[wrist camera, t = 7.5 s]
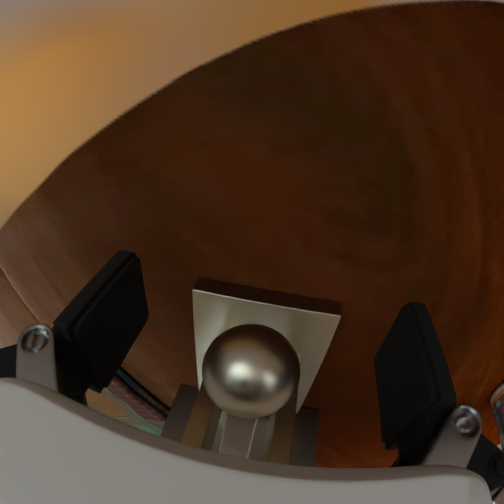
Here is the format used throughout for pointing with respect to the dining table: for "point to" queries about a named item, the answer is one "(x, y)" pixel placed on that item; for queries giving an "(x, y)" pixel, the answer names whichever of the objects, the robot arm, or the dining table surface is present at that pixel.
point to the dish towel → (129, 404)
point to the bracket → (271, 315)
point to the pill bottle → (499, 411)
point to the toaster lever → (249, 380)
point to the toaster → (302, 437)
